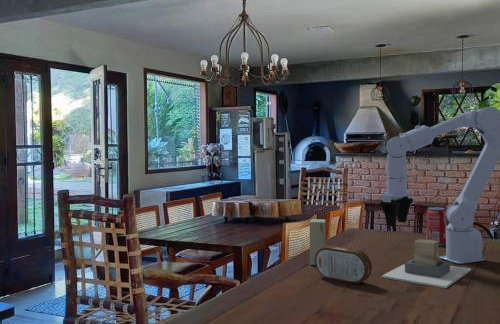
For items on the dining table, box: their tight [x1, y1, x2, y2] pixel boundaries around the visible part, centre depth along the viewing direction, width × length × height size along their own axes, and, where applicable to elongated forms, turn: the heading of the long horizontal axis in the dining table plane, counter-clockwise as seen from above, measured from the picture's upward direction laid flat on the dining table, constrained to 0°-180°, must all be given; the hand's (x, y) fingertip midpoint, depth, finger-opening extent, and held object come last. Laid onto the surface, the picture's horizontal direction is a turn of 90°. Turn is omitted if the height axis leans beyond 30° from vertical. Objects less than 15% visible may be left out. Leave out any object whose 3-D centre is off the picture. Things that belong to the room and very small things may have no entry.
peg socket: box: [381, 257, 472, 289], centre depth 132 cm, size 20×16×3 cm
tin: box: [314, 244, 373, 285], centre depth 127 cm, size 15×3×8 cm, turn 50°
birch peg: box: [413, 238, 439, 267], centre depth 132 cm, size 4×5×8 cm
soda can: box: [425, 206, 447, 247], centre depth 167 cm, size 6×6×12 cm
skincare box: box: [309, 218, 327, 266], centre depth 145 cm, size 6×4×12 cm
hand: (396, 224), depth 150 cm, fingers open, 7 cm apart
